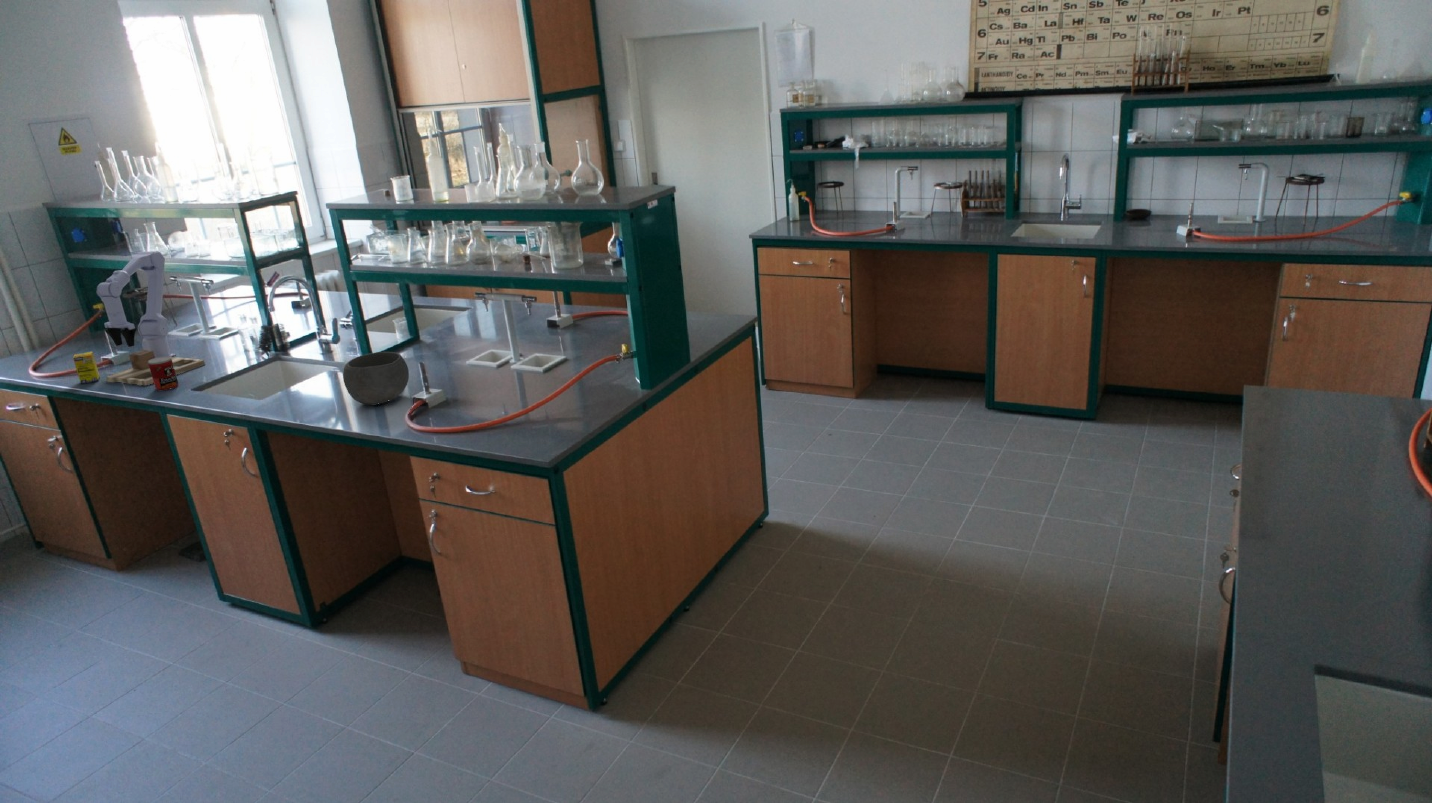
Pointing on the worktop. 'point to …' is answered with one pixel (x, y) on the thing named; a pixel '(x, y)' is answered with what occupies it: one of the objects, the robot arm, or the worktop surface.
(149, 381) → the trap deck
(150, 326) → the robot arm
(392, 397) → the bowl
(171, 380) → the canned food
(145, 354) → the walnut block
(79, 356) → the supplement box
